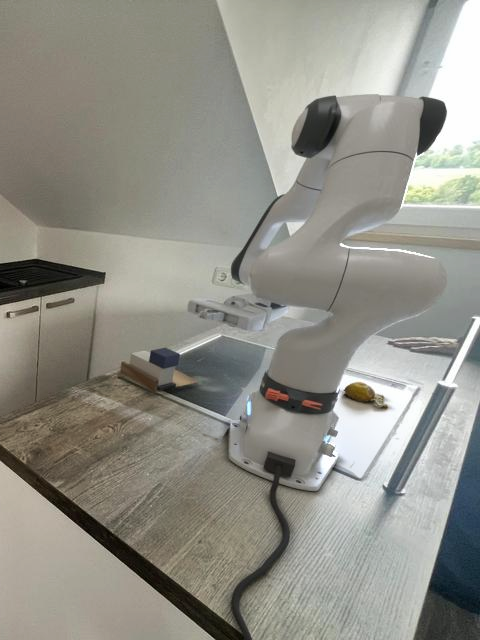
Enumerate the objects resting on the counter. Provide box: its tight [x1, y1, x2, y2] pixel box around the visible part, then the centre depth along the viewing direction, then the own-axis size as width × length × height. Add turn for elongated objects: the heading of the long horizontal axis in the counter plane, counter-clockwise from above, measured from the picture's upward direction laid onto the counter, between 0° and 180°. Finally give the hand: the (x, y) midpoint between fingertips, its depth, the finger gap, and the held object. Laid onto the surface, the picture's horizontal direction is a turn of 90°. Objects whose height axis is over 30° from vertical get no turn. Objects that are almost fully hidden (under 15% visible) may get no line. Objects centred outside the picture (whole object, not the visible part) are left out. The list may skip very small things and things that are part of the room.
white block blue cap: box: [129, 347, 181, 392], centre depth 101 cm, size 12×6×9 cm, turn 26°
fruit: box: [343, 381, 389, 408], centre depth 96 cm, size 8×8×4 cm
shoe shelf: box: [119, 361, 200, 393], centre depth 105 cm, size 16×13×4 cm
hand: (203, 316), depth 103 cm, fingers closed
